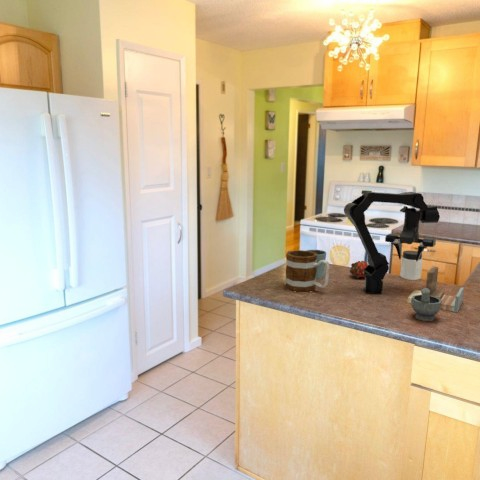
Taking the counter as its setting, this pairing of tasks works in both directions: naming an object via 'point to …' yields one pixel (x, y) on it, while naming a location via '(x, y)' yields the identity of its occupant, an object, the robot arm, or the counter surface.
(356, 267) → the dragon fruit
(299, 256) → the mug
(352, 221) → the robot arm
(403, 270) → the jar
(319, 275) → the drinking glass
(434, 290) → the bookend block
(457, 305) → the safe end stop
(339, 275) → the counter surface
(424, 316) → the mortar and pestle
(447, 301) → the board
